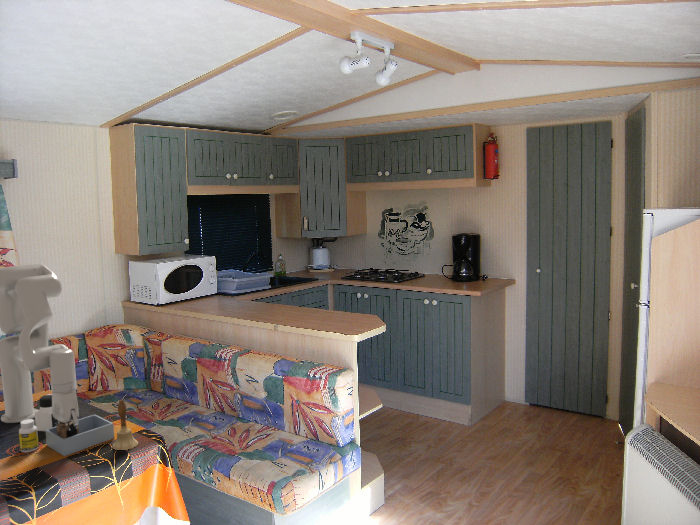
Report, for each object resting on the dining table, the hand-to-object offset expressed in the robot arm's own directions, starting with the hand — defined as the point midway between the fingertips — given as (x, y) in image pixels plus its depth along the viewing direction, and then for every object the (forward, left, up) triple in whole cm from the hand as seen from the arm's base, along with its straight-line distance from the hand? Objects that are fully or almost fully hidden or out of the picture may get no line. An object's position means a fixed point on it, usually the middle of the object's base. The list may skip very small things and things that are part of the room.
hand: (68, 437), depth 200 cm
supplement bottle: (-8, -9, -3) cm, 13 cm away
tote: (0, +4, -3) cm, 5 cm away
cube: (0, 0, -1) cm, 1 cm away
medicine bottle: (-21, +3, -3) cm, 21 cm away
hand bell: (+15, +12, -3) cm, 20 cm away
